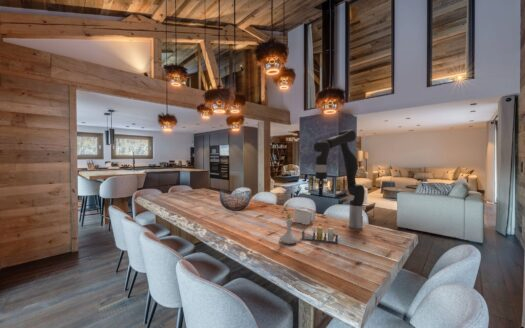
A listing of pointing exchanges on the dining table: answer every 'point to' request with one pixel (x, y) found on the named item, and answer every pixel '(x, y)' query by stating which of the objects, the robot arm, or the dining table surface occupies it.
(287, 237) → the white tapered rounded piece
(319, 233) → the plug mustard
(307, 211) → the cable organizer
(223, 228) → the dining table surface
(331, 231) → the plug white
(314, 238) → the grey compartment rack
